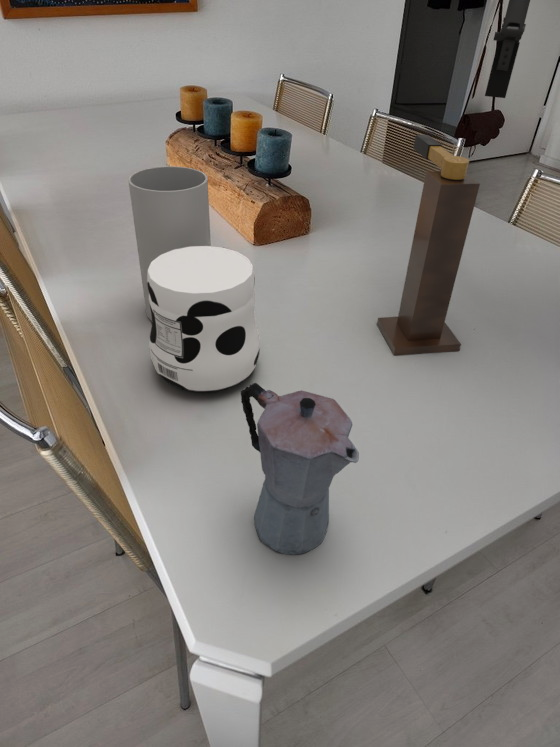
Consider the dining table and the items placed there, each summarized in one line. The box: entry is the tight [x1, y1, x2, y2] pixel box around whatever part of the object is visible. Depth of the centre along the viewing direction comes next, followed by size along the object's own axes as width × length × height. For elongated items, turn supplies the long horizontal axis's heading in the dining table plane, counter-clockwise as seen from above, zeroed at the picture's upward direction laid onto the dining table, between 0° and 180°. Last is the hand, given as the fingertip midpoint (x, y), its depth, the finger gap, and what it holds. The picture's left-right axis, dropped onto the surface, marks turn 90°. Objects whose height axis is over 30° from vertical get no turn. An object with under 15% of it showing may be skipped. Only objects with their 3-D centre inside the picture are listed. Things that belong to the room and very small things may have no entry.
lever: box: [413, 134, 470, 180], centre depth 85 cm, size 4×16×2 cm, turn 9°
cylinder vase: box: [127, 165, 212, 322], centre depth 95 cm, size 12×12×25 cm
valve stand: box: [376, 170, 481, 356], centre depth 90 cm, size 12×10×29 cm
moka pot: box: [240, 382, 360, 556], centre depth 59 cm, size 10×15×20 cm, turn 53°
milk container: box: [147, 245, 261, 393], centre depth 83 cm, size 17×17×18 cm
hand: (496, 88), depth 80 cm, fingers open, 13 cm apart
